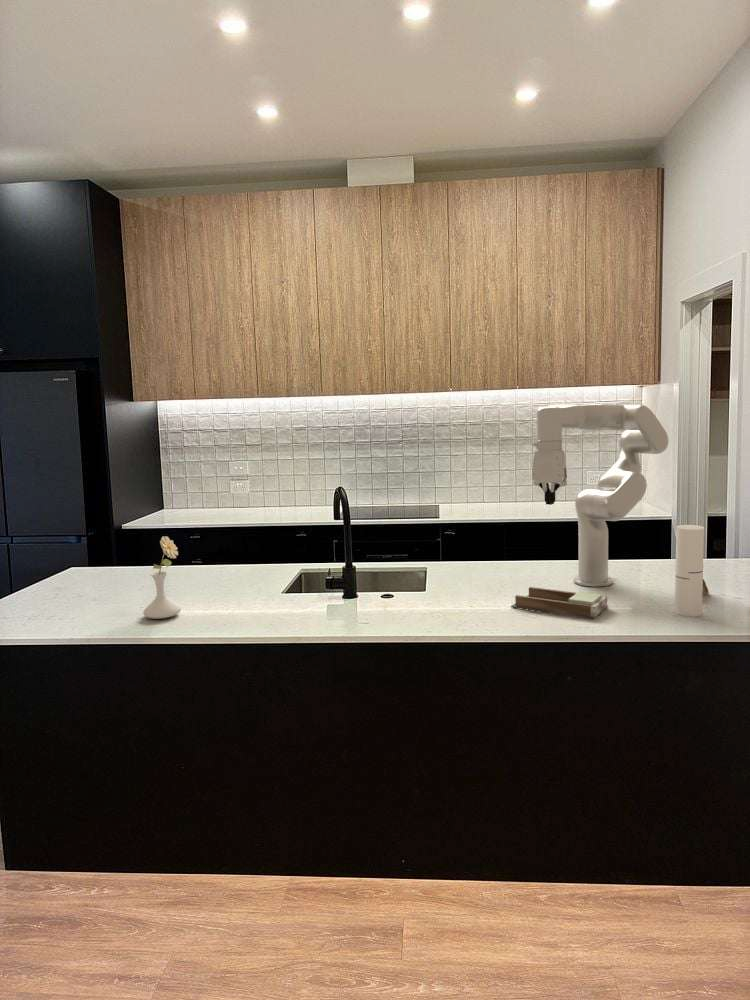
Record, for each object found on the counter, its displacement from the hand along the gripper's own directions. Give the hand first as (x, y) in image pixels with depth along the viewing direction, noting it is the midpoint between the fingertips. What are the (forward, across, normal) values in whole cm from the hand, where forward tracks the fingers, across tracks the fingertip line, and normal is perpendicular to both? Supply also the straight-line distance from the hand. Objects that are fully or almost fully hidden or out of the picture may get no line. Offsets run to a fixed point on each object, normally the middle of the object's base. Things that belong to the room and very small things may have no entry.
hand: (550, 503), depth 227 cm
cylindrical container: (+29, +42, -2) cm, 51 cm away
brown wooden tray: (+29, +8, -14) cm, 33 cm away
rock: (+29, +40, +16) cm, 52 cm away
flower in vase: (+29, -97, -76) cm, 127 cm away
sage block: (+29, +16, -14) cm, 36 cm away
